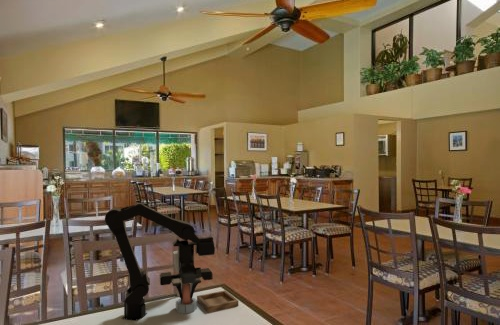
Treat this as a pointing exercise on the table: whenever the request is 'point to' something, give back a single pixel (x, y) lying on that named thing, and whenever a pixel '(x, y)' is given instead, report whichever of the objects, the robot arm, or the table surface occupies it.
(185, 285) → the dowel
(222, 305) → the tray
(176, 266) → the chalice
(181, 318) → the table surface
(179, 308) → the grey hex nut
